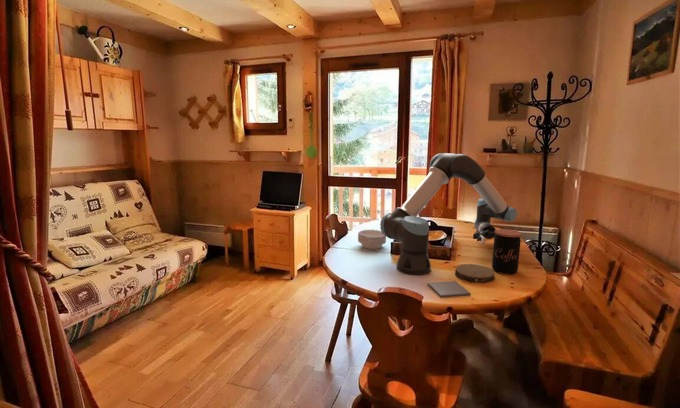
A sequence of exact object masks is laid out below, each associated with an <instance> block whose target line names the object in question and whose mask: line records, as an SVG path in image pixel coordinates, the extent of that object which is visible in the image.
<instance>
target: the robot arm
mask: <svg viewBox="0 0 680 408" xmlns="http://www.w3.org/2000/svg"><path fill="white" fill-rule="evenodd" d="M453 178H455V179H461V180H463V181H465V182H466V183H467V184H468V185H471V186H472V187H473V188H474V190H475V191H476V192H477V193H478V195H479V196H480V197H481V198H479V199H478V200H477V206H476V207H477V208H476V219H475V221H474V223H473V224H474V229H475V232H474V233H473V235H472V240H476V242H481V244H483V245H485V243H486V240H492V239H494V236H495V235H496V233H495V230H497V228H495V226H493V225H492V223H491V220H492V219H496V220H501V221H504V222H509V223H510V222H514V221H516V218H517V216H518V210H517V209H516V208H515V207H512V206H509V205H508V203H507V202H506V201H505V200H504V199H503V197H502V196H501V195H500V193H499V192H498V191H497V189H496V188H495V187H494V185H493V183H491V181H490V180H489V178H488V177H487V176H486V171H485V170H484V169H483V168H482V166H481V165H480V163H478V162H477V161H476V160H475V159H473V158H472V157H470V156H469V155H466V154H464V153H448V152H442V153H441V152H440V153H437V154H435V155H433V157H432V158H431V160H430V161H429V167H428V174H427V175H426V176H425V178H424V179H423V180H422V182H421V183H420V184H419V185H418V186H417V187H416V188H415V190H413V192H412V193H411V195H410V196H409V197H408V198H407V199H406V201H405V202H404V203H403V204H402V205H401V206H400V207H396V208H395V209H394V210H393V211H392V213H391V212H389V213H388V212H387V213H386V214H384V215H383V216H382V218H381V219H380V224H379V225H380V231H382V233H383V234H384V235H385V236H386V238H387V239H390V240H394V241H396V242H399V243H401V251H400V254H399V256H398V259H397V262H396V270H397V271H398V272H399V273H403V274H405V275H412V276H414V275H415V276H422V275H426V274H429V273H430V272H431V271H432V267H431V266H432V265H431V262H430V258H429V254H428V250H429V237H430V228H429V227H430V223H429V222H428V220H426V218H423V217H420V216H418V215H419V214H420V213H421V212H422V210H423V209H424V208H425V207H426V205H427V204H428V203H429V202H430V200H431V199H432V198H433V197H434V196H435V194H436V193H437V192H438V191H439V190H440V188H442V186H443V185H447V184H448V183H449V182H450V181H451V180H452V179H453Z"/></svg>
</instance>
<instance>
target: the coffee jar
mask: <svg viewBox="0 0 680 408" xmlns="http://www.w3.org/2000/svg"><path fill="white" fill-rule="evenodd" d="M495 233H496V235H495V236H494V238H493V247H492V249H493V250H492V259H491V269H492V270H493V271H494V272H496V273H498V274H502V275H515V274H516V273H517V272H518V271H519V263H520V262H519V261H520V252H521V251H520V249H521V242H522V241H521V240H522V239H521V236H522V233H521V232H520V231H518V230H516V229H515V230H514V229H508V228H498V229H496V230H495Z"/></svg>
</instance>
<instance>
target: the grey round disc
mask: <svg viewBox="0 0 680 408" xmlns="http://www.w3.org/2000/svg"><path fill="white" fill-rule="evenodd" d="M495 274H496V273H495V271H494V270H493V268H489V267H487V266H484V265H480V264H473V263H463V264H459V265H457V266H455V273H454V275H455V276H456V278H458V279H460V280H461V281H464V282H468V283H471V284H472V283H473V284H489V283H492V282H494V280H495Z"/></svg>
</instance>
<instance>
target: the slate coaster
mask: <svg viewBox="0 0 680 408" xmlns="http://www.w3.org/2000/svg"><path fill="white" fill-rule="evenodd" d="M427 287H429V288H430V289H431V290H432V291H433V292H434V294H436V295H437V296H438V297H439V298H441V299H442V298H443V299H444V298H456V297H470V296H471V295H472V294H471V292H470V291H469V290H467V288H465V287H463V285H461V284H460V283H458V281H456V280H451V281H447V280H446V281H434V282H431V281H430V282H427Z"/></svg>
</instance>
